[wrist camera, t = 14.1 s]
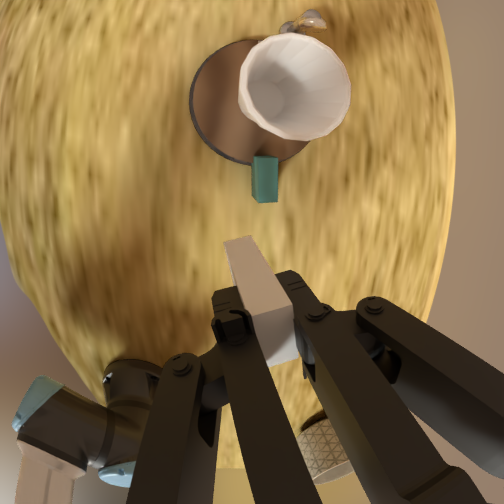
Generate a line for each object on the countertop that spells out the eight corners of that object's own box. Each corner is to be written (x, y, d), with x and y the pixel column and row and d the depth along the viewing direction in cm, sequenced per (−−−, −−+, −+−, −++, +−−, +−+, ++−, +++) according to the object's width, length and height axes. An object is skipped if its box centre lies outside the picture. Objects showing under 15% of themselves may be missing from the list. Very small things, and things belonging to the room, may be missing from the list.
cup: (205, 107, 30) (213, 91, 18) (254, 49, 28) (288, 12, 16) (269, 152, 34) (309, 165, 22) (313, 96, 32) (370, 86, 20)
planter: (280, 433, 68) (298, 483, 52) (334, 400, 66) (361, 451, 50) (310, 443, 77) (328, 484, 61) (357, 415, 74) (380, 456, 58)
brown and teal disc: (197, 199, 36) (197, 207, 32) (193, 42, 27) (193, 31, 23) (317, 192, 39) (330, 199, 35) (318, 49, 30) (332, 42, 26)
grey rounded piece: (280, 42, 30) (303, 22, 22) (279, 21, 28) (302, -2, 20) (304, 45, 30) (332, 27, 23) (303, 25, 29) (330, 4, 21)
